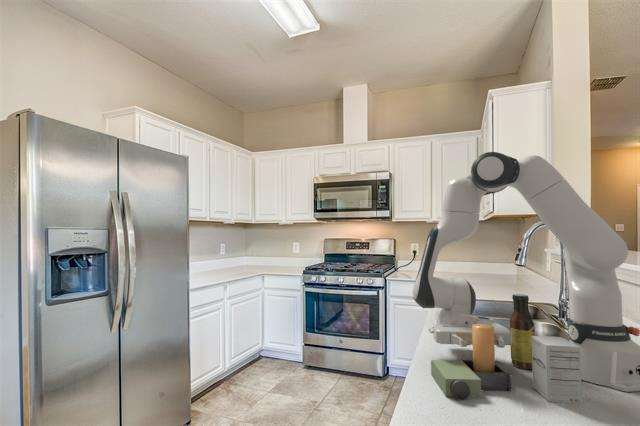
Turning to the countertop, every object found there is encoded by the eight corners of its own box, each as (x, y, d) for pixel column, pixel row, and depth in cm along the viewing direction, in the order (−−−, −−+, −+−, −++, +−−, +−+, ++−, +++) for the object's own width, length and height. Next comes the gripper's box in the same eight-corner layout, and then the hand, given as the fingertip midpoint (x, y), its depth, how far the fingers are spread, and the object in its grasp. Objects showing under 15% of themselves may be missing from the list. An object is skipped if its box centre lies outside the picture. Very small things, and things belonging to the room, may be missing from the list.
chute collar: (494, 375, 91) (493, 360, 91) (511, 391, 82) (510, 374, 82) (461, 374, 91) (461, 359, 92) (474, 390, 82) (474, 373, 83)
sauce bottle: (540, 371, 94) (538, 297, 95) (515, 369, 95) (513, 296, 96) (530, 362, 100) (528, 293, 102) (507, 360, 102) (505, 292, 103)
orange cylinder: (489, 378, 89) (488, 323, 90) (499, 387, 84) (497, 329, 85) (470, 378, 89) (469, 323, 90) (478, 386, 84) (476, 328, 85)
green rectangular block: (461, 375, 91) (461, 360, 91) (483, 400, 77) (483, 382, 78) (431, 374, 91) (431, 359, 91) (447, 399, 78) (447, 381, 78)
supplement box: (531, 387, 84) (530, 335, 85) (564, 389, 83) (563, 336, 84) (547, 402, 77) (545, 344, 78) (583, 404, 76) (581, 346, 77)
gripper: (426, 317, 102) (441, 330, 88) (497, 318, 101) (523, 332, 87) (427, 338, 101) (441, 355, 88) (497, 340, 100) (523, 357, 87)
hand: (482, 344), depth 87 cm, fingers open, 8 cm apart
